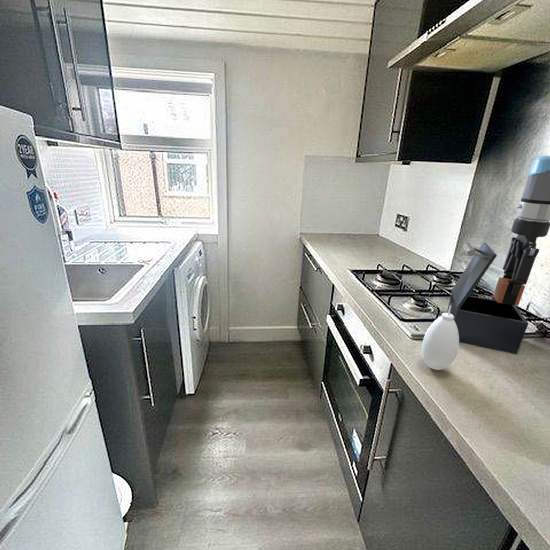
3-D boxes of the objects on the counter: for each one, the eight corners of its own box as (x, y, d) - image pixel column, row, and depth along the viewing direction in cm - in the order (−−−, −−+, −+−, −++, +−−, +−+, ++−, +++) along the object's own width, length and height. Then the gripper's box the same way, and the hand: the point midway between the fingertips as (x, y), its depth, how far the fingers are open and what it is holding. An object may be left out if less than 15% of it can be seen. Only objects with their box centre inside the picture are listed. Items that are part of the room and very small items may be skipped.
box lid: (486, 243, 90) (466, 235, 92) (497, 255, 78) (474, 246, 80) (453, 291, 98) (435, 284, 100) (459, 309, 86) (438, 300, 88)
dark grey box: (504, 330, 96) (513, 302, 92) (516, 354, 84) (528, 323, 81) (444, 319, 102) (451, 292, 98) (449, 339, 90) (457, 310, 87)
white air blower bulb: (447, 361, 80) (465, 300, 74) (454, 380, 73) (474, 315, 67) (415, 355, 82) (430, 295, 76) (419, 373, 75) (435, 309, 69)
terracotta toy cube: (513, 299, 88) (519, 280, 86) (518, 306, 84) (525, 286, 82) (493, 295, 90) (499, 277, 88) (497, 302, 86) (503, 283, 84)
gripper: (506, 213, 88) (483, 286, 96) (526, 224, 72) (497, 310, 81) (538, 215, 85) (512, 290, 93) (566, 227, 69) (531, 316, 78)
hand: (505, 299), depth 87 cm, fingers closed on terracotta toy cube, 5 cm apart
